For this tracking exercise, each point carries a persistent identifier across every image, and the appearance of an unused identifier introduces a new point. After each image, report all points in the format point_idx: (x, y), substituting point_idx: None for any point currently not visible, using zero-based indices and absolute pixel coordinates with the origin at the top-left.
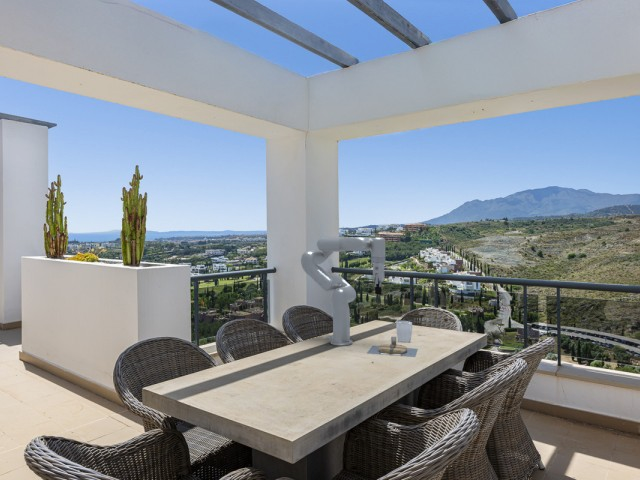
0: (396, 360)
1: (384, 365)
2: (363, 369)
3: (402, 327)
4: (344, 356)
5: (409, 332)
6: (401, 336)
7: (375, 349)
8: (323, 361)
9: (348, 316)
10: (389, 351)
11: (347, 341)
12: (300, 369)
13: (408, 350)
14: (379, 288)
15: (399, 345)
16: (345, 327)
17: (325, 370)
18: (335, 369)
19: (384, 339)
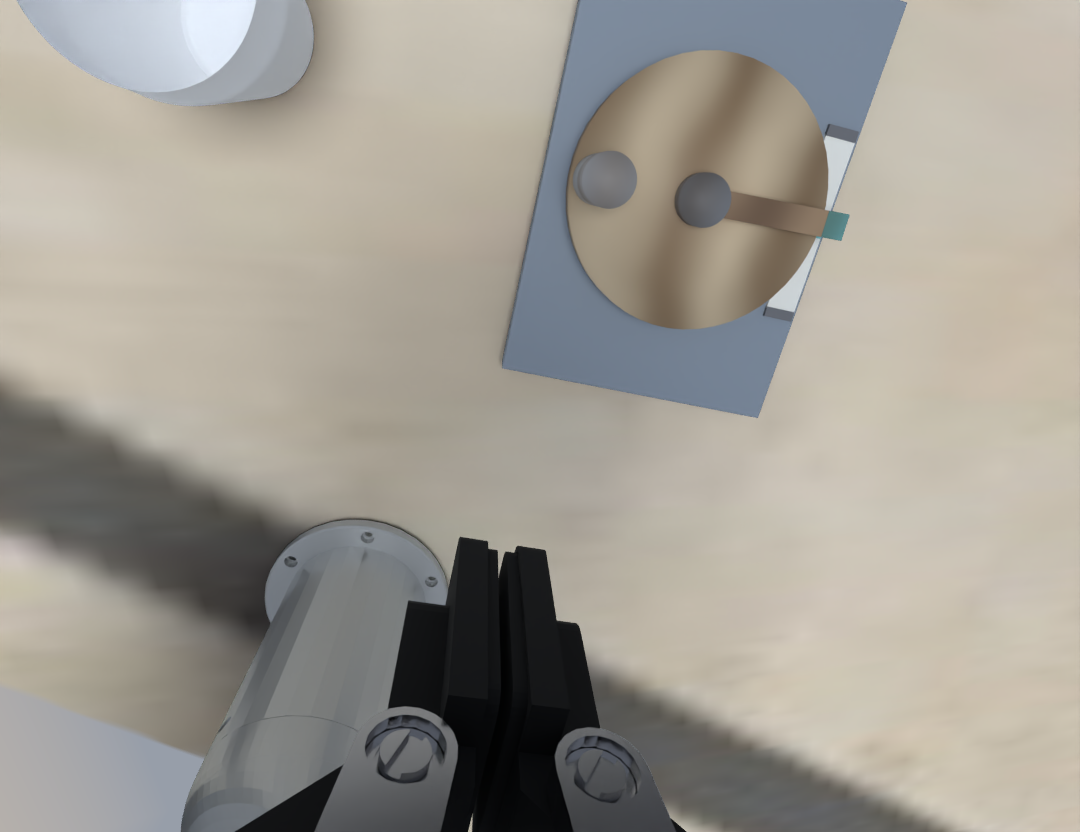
0: (879, 184)
1: (995, 288)
2: (1055, 425)
3: (276, 16)
4: (743, 548)
5: None
6: (296, 54)
7: (637, 347)
8: (849, 649)
9: (340, 723)
10: (811, 239)
11: (398, 566)
12: (985, 727)
13: (671, 35)
14: (570, 715)
15: (617, 121)
16: (396, 661)
17: (1028, 619)
18: (1020, 574)
19: (101, 236)
